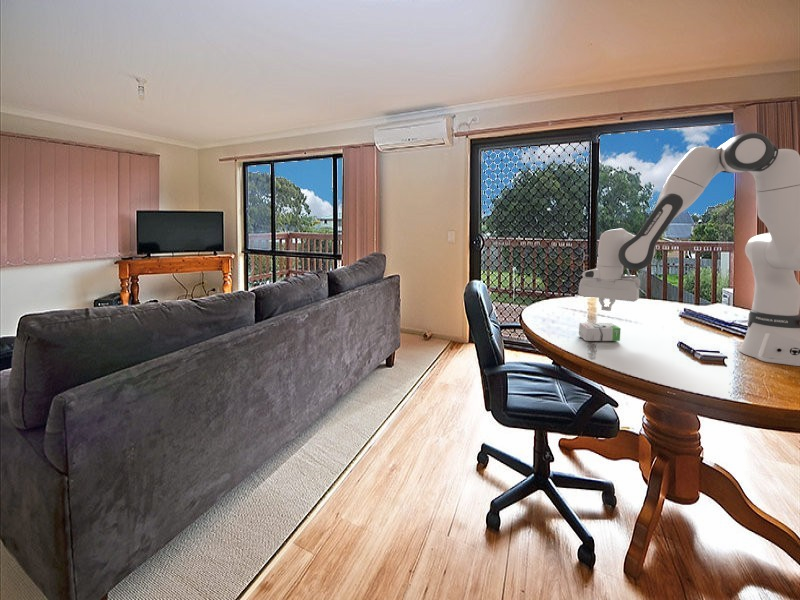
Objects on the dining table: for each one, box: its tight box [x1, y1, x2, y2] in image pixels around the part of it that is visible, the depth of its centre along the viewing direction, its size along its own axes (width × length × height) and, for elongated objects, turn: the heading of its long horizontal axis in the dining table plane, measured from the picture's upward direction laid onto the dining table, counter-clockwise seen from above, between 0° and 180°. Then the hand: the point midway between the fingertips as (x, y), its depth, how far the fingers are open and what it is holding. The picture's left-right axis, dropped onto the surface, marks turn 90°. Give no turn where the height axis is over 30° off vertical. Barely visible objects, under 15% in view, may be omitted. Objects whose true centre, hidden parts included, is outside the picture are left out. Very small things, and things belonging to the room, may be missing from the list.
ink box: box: [578, 322, 622, 342], centre depth 151 cm, size 9×5×12 cm
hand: (606, 310), depth 153 cm, fingers closed
